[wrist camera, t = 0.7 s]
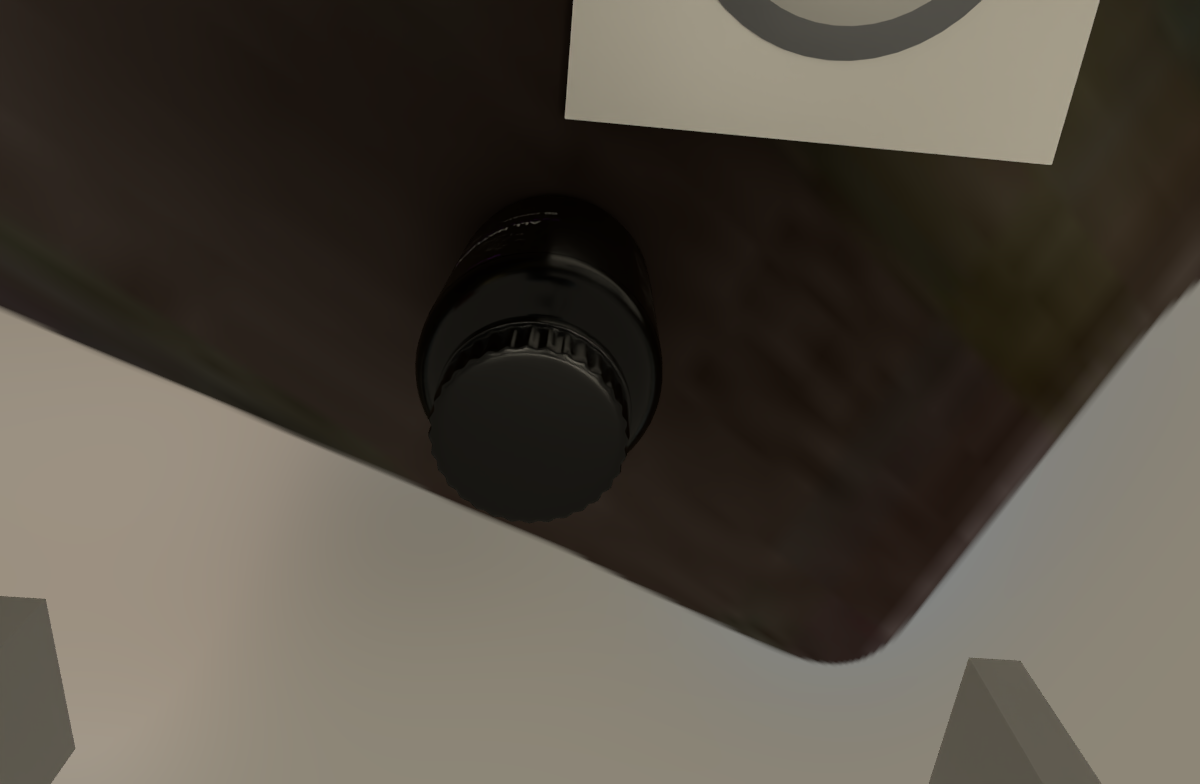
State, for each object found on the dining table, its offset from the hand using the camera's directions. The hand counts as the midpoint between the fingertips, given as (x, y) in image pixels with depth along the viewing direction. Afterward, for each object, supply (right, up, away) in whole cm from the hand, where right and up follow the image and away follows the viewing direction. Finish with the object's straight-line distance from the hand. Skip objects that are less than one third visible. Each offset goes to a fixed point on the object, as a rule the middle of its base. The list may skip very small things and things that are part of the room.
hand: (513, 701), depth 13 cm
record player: (+9, +20, +14) cm, 26 cm away
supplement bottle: (0, +8, +19) cm, 21 cm away
